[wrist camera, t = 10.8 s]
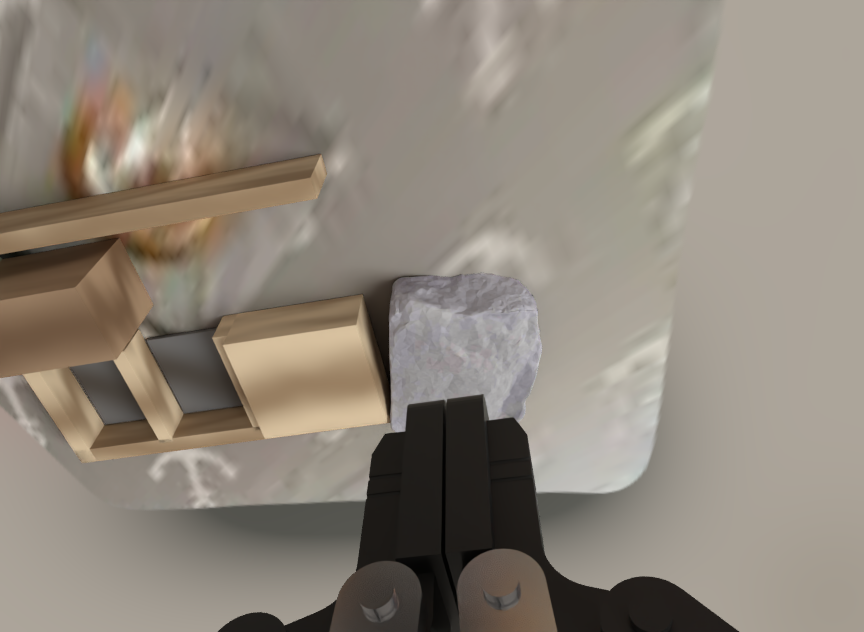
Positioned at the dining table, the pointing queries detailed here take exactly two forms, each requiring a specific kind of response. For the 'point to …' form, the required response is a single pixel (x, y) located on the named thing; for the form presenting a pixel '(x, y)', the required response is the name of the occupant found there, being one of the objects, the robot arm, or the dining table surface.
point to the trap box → (209, 336)
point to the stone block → (462, 343)
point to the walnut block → (68, 307)
